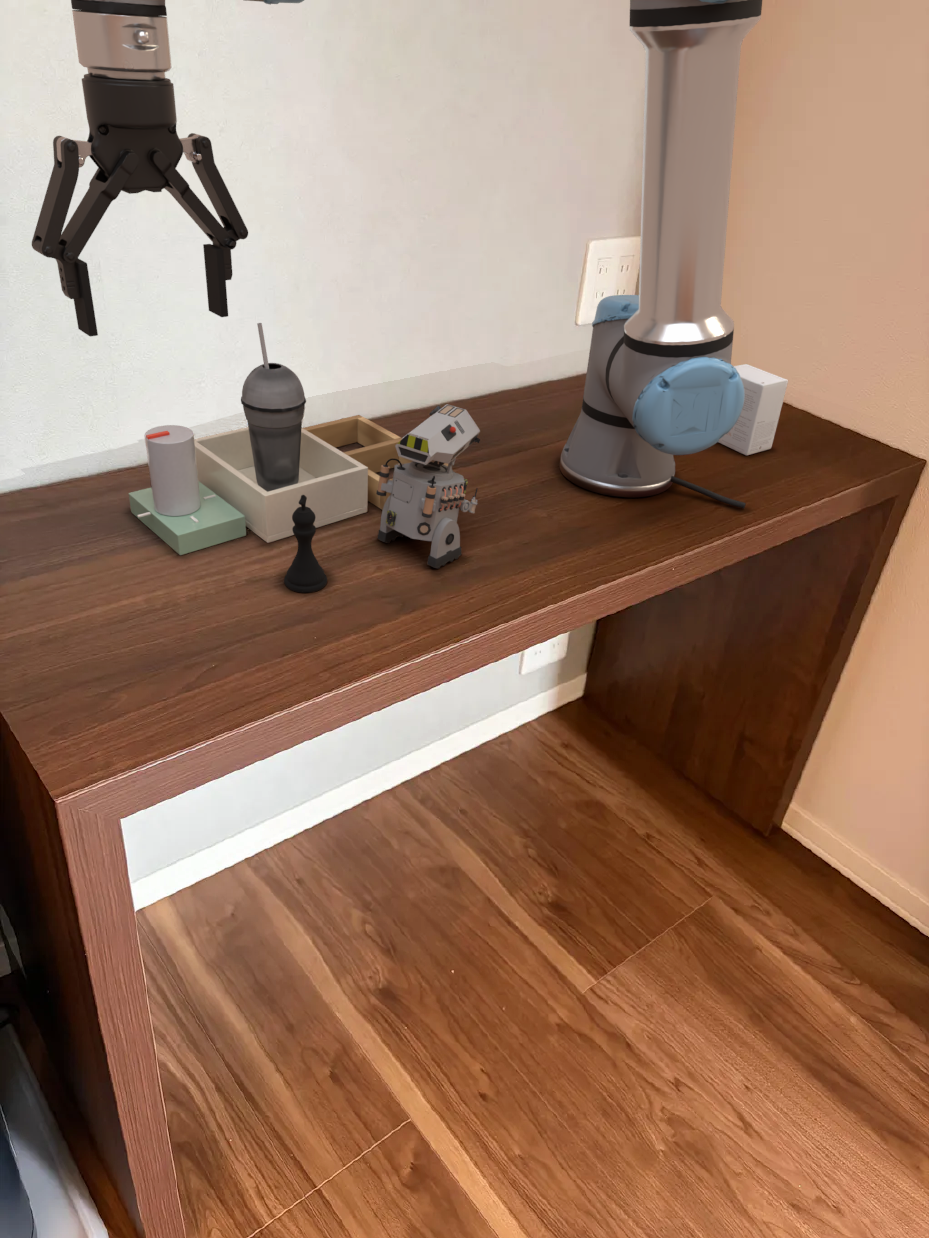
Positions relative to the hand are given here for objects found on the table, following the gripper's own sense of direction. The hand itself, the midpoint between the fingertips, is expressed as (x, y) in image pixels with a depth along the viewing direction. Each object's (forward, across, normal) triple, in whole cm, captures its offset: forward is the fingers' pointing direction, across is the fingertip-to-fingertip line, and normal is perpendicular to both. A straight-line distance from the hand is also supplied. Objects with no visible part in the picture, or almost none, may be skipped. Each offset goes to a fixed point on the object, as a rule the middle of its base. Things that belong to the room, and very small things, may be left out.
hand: (156, 323), depth 91 cm
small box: (+23, +78, -21) cm, 84 cm away
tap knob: (+20, 0, 0) cm, 20 cm away
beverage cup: (+22, +13, 0) cm, 26 cm away
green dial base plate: (+23, +1, 0) cm, 23 cm away
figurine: (+23, +21, -19) cm, 36 cm away
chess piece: (+23, +5, -18) cm, 30 cm away
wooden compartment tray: (+23, +26, 0) cm, 35 cm away
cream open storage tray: (+23, +13, 0) cm, 26 cm away
